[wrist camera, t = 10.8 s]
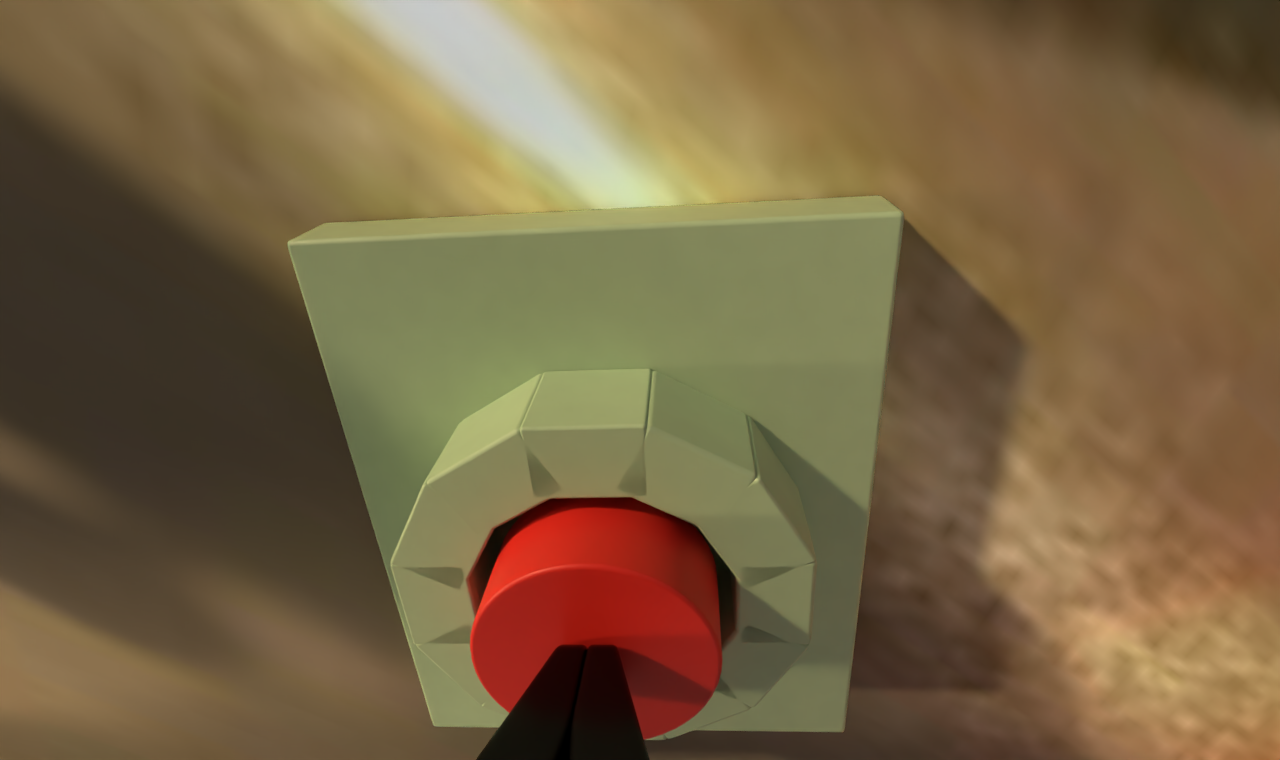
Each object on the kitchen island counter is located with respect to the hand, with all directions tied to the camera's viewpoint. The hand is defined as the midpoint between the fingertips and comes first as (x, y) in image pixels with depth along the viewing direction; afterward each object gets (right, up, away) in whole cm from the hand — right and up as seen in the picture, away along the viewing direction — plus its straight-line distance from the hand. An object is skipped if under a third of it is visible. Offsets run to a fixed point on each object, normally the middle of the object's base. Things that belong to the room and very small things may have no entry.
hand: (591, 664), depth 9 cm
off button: (0, +1, +2) cm, 2 cm away
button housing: (0, +2, +4) cm, 4 cm away
